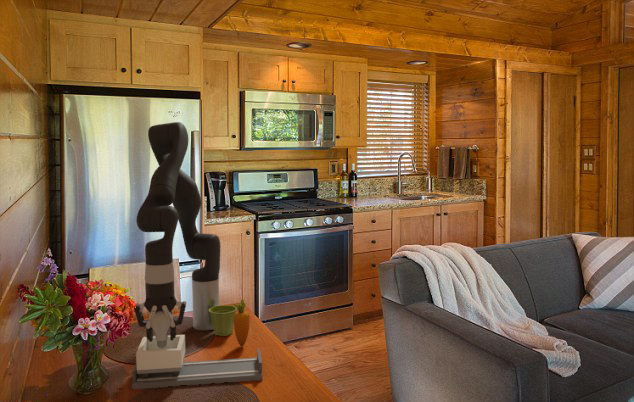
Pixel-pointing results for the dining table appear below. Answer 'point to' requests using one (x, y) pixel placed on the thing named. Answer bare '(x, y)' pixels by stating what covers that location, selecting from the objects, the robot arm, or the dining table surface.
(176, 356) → the cream open box
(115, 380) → the dining table surface
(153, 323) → the lightbulb
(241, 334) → the carrot
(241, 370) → the rail board
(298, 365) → the dining table surface
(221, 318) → the plant pot
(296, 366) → the dining table surface
